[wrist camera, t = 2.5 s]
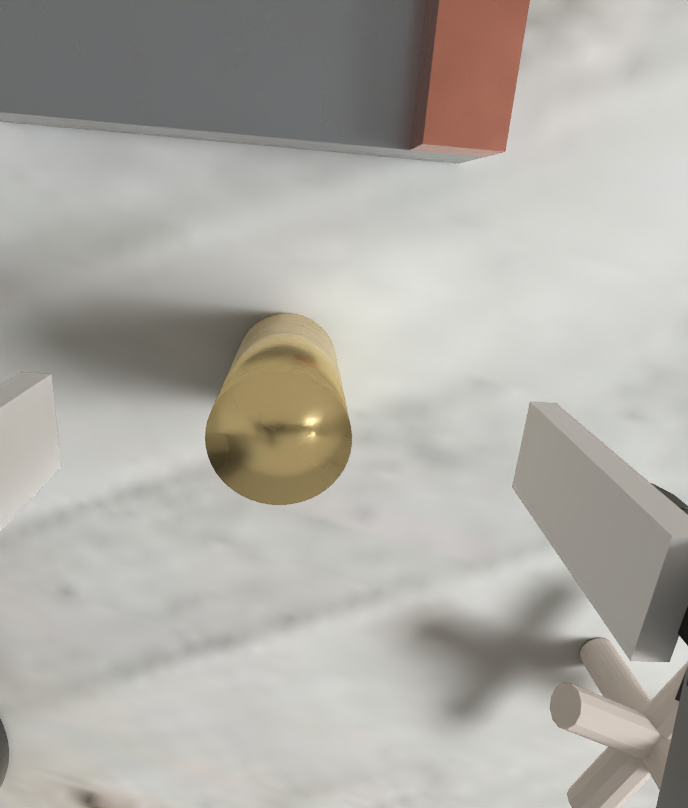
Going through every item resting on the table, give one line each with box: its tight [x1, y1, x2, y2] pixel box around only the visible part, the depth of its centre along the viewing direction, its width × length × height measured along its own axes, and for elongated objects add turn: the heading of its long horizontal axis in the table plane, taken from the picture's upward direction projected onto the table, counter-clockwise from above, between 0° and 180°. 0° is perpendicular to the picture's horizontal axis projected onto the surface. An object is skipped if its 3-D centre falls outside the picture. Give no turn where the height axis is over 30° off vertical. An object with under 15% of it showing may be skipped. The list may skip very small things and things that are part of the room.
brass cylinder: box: [205, 313, 352, 505], centre depth 19 cm, size 4×4×8 cm
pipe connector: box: [550, 638, 688, 808], centre depth 25 cm, size 10×10×10 cm
